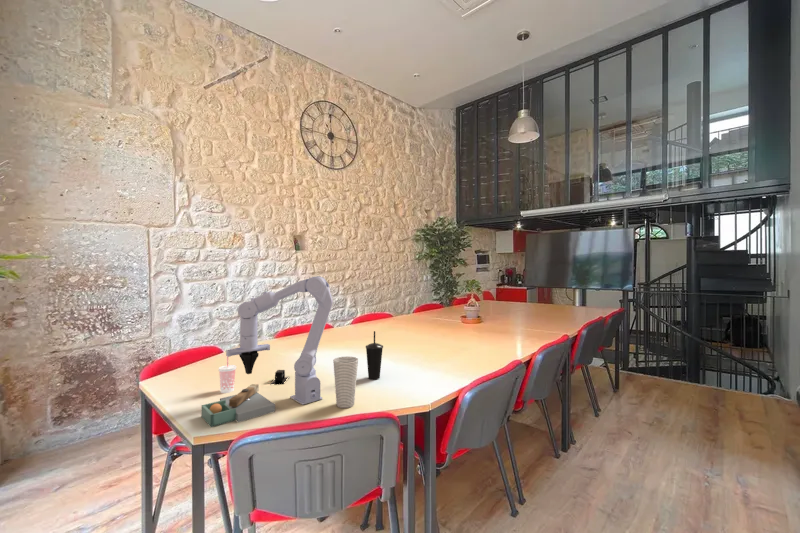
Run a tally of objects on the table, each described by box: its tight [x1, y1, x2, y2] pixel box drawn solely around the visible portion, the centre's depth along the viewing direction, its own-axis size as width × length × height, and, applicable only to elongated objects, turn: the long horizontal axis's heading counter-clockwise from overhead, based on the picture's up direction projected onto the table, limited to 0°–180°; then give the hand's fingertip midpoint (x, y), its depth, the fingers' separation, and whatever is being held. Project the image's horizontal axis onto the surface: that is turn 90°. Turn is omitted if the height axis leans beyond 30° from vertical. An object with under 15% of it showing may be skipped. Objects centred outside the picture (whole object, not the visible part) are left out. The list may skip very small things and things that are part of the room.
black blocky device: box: [271, 369, 289, 386], centre depth 143 cm, size 12×7×5 cm, turn 3°
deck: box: [219, 392, 276, 423], centre depth 114 cm, size 18×12×2 cm, turn 44°
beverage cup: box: [218, 356, 237, 394], centre depth 130 cm, size 6×6×14 cm
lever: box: [229, 383, 260, 407], centre depth 115 cm, size 14×2×3 cm, turn 176°
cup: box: [333, 356, 359, 409], centre depth 117 cm, size 8×8×16 cm
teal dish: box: [200, 400, 236, 428], centre depth 106 cm, size 10×7×4 cm
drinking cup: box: [365, 331, 384, 381], centre depth 147 cm, size 8×8×20 cm
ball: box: [209, 404, 222, 414], centre depth 107 cm, size 4×4×4 cm
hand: (248, 373), depth 122 cm, fingers closed
